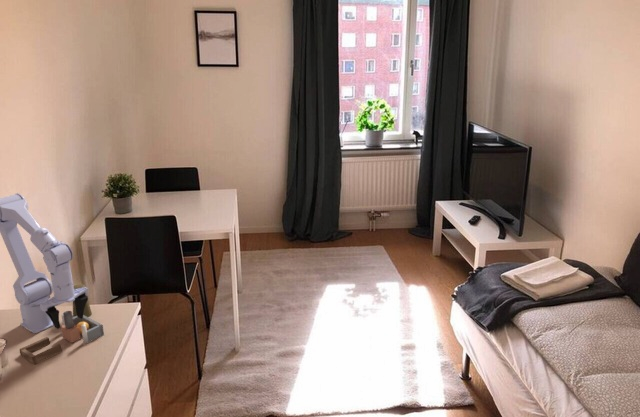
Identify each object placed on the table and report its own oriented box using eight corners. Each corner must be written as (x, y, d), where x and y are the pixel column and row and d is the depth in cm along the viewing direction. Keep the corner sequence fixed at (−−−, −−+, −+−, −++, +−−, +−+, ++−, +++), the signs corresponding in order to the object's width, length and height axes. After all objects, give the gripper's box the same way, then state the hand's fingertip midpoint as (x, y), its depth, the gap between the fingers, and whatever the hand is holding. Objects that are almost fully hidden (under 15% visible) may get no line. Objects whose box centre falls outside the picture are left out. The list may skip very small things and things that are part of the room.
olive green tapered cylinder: (85, 320, 184) (80, 290, 180) (69, 318, 185) (64, 289, 181) (95, 311, 189) (91, 282, 186) (79, 309, 190) (75, 281, 187)
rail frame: (20, 355, 164) (19, 349, 164) (47, 342, 171) (46, 336, 170) (34, 364, 160) (33, 358, 159) (62, 351, 166) (61, 345, 166)
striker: (62, 337, 173) (58, 312, 170) (71, 333, 175) (67, 308, 172) (71, 342, 170) (67, 317, 167) (80, 338, 172) (76, 313, 170)
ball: (85, 319, 178) (83, 331, 178) (74, 320, 174) (72, 332, 175) (92, 322, 176) (90, 334, 176) (81, 324, 172) (79, 336, 173)
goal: (63, 331, 177) (60, 315, 175) (82, 322, 182) (79, 306, 180) (85, 344, 170) (82, 327, 168) (104, 334, 175) (102, 318, 173)
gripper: (46, 295, 159) (53, 336, 163) (91, 278, 170) (97, 316, 174) (33, 289, 163) (41, 329, 167) (78, 272, 174) (84, 310, 178)
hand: (69, 322), depth 171 cm, fingers open, 7 cm apart
